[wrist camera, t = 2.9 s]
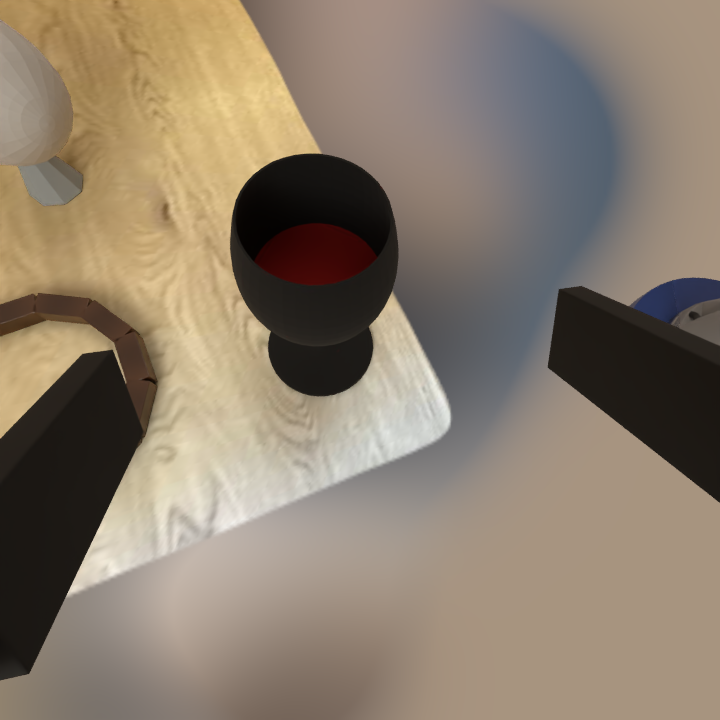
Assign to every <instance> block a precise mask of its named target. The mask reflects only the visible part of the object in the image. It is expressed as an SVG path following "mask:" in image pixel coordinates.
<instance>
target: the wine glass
mask: <svg viewBox="0 0 720 720" xmlns="http://www.w3.org/2000/svg"><path fill="white" fill-rule="evenodd" d="M230 252H231V260H232V267H233V272H234V276H235V279H236V282H237V285H238V288H239V291H240V293H241V295H242V297H243V299H244V301H245V303H246V305H247V306H248V308H249V309H250V311H251V312H252V313H253V314H254V316H255V317H256V318H257V319H258V320H259V321H260V322H261V323H262V324H263V325H264V326H265V327H266V328H267V329H269V330H270V331H271V333H270V337H269V342H268V352H269V358H270V361H271V364H272V366H273V368H274V370H275V372H276V374H277V375H278V376H279V377H280V379H281V380H282V381H283V382H284V383H285V384H286V385H288V386H289V387H291V388H292V389H294V390H296V391H298V392H300V393H303V394H307V395H311V396H329V395H335V394H337V393H340V392H343V391H345V390H347V389H349V388H350V387H352V386H353V385H354V384H356V383H357V382H358V381H359V380H360V379H361V378H362V376H363V375H364V373H365V372H366V370H367V368H368V366H369V364H370V361H371V357H372V352H373V341H372V336H371V332H370V330H369V327H368V326H369V325H370V324H371V323H372V322H373V321H374V320H375V319H376V318H377V317H378V316H379V314H380V313H381V311H382V310H383V308H384V307H385V305H386V303H387V301H388V299H389V297H390V295H391V292H392V289H393V285H394V282H395V278H396V273H397V266H398V240H397V232H396V225H395V220H394V216H393V212H392V208H391V205H390V201H389V199H388V197H387V195H386V193H385V191H384V190H383V188H382V187H381V186H380V184H379V183H378V182H377V181H376V180H375V179H374V178H373V177H372V176H371V175H370V174H369V173H367V172H366V171H365V170H364V169H362V168H361V167H359V166H357V165H355V164H354V163H352V162H349V161H347V160H345V159H342V158H338V157H334V156H330V155H324V154H299V155H293V156H289V157H285V158H281V159H279V160H276V161H273V162H271V163H270V164H268V165H266V166H265V167H263V168H262V169H260V170H259V171H258V172H256V173H255V174H254V175H253V176H252V177H251V178H250V179H249V180H248V181H247V182H246V183H245V185H244V186H243V188H242V189H241V191H240V193H239V195H238V197H237V199H236V202H235V206H234V210H233V215H232V223H231V238H230Z"/></svg>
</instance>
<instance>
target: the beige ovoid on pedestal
mask: <svg viewBox="0 0 720 720" xmlns="http://www.w3.org/2000/svg"><path fill="white" fill-rule="evenodd" d="M72 124H73V108H72V103H71V97H70V95H69V93H68V90H67V88H66V86H65V84H64V82H63V80H62V78H61V76H60V75H59V73H58V72H57V71H56V70H55V68H54V67H53V66H52V65H51V64H50V62H49V61H48V60H47V59H46V58H45V56H44V55H43V54H42V53H41V52H40V51H39V50H38V49H37V48H36V47H35V46H34V45H33V44H32V43H31V42H30V41H29V40H27V39H26V38H25V37H24V36H23V35H21V34H20V33H19V32H17V31H16V30H15V29H13V28H12V27H10V26H9V25H8V24H6V23H5V22H3V21H2V20H1V19H0V164H1V165H13V166H18V168H19V170H20V173H21V175H22V178H23V180H24V183H25V185H26V187H27V190H28V192H29V195H30V196H32V197H33V198H34V199H35V200H37V201H38V202H39V203H41V204H42V205H43V206H48V205H63V204H66V203H68V202H69V201H70V200H72V199H73V198H74V197H75V196H77V195H78V194H79V193H80V192H82V181H83V175H82V174H80V173H79V172H78V171H76V170H75V169H74V168H72V167H71V166H70V165H68V164H67V163H65V162H64V161H62V160H61V159H59V158H58V157H56V156H55V155H57V154H58V153H59V152H60V151H61V149H62V148H63V147H64V145H65V144H66V143H67V141H68V139H69V136H70V133H71V131H72Z"/></svg>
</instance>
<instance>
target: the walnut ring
mask: <svg viewBox="0 0 720 720" xmlns="http://www.w3.org/2000/svg"><path fill="white" fill-rule="evenodd" d="M46 320H50V321H60V322H70V323H80V324H90V325H92V326H93V327H94V328H96V329H97V330H98V331H100V332H101V333H102V334H104V335H105V336H106V337H108V338H109V339H110V340H112V341H113V342H114V344H115V347H116V350H117V353H118V356H119V359H120V362H121V366H122V369H123V372H124V375H125V378H126V381H127V383H126V386H127V389H128V391H129V394H130V396H131V399H132V402H133V404H134V407H135V410H136V412H137V415H138V417H139V420H140V423H141V425H142V428H143V431H144V433H143V436H142V437H145V433H146V429H147V425H148V421H149V417H150V413H151V409H152V405H153V401H154V397H155V393H156V389H157V386H156V385H155V384H153V383H154V382H157V379H156V376H155V373H154V370H153V368H152V365H151V362H150V359H149V356H148V353H147V350H146V347H145V344H144V341H143V338H142V337H140V336H139V335H140V334H139V333H138V332H137V331H135V330H134V329H133V328H132V327H131V326H129V325H128V324H127V323H125V322H124V321H122V320H121V319H120V318H118V317H117V316H116V315H114V314H113V313H111V312H110V311H109V310H107V309H106V308H105V307H103V306H102V305H100V304H99V303H98V302H96V301H95V300H94V301H92V300H91V299H90V298H81V297H71V296H61V295H51V294H42V293H38V295H37V296H35V295H34V294H31V295H28V296H25V297H22V298H19V299H16V300H13V301H10V302H7V303H4V304H1V305H0V336H3V335H6V334H8V333H11V332H14V331H17V330H20V329H23V328H26V327H28V326H31V325H34V324H37V323H40V322H43V321H46ZM141 443H142V441H140V442H139V444H138V446H139V445H140V444H141ZM138 446H137V447H138Z"/></svg>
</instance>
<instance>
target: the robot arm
mask: <svg viewBox="0 0 720 720" xmlns="http://www.w3.org/2000/svg"><path fill="white" fill-rule="evenodd" d="M548 368H549V369H550V370H552V371H553V372H554V373H555V374H557V375H558V376H559V377H561V378H562V379H563V380H564V381H566V382H567V383H568V384H569V385H571V386H572V387H573V388H574V389H576V390H577V391H578V392H580V393H581V394H582V395H584V396H585V397H586V398H587V399H588V400H590V401H591V402H592V403H594V404H595V405H596V406H597V407H599V408H600V409H601V410H603V411H604V412H605V413H606V414H608V415H609V416H610V417H611V418H613V419H614V420H615V421H616V422H618V423H619V424H620V425H622V426H623V427H624V428H625V429H627V430H628V431H629V432H630V433H632V434H633V435H634V436H636V437H637V438H638V439H639V440H641V441H642V442H643V443H644V444H646V445H647V446H648V447H650V448H651V449H652V450H653V451H655V452H656V453H657V454H658V455H660V456H661V457H662V458H664V459H665V460H666V461H667V462H669V463H670V464H671V465H673V466H674V467H675V468H676V469H678V470H679V471H680V472H682V473H683V474H684V475H685V476H686V477H688V478H689V479H690V480H692V481H693V482H694V483H695V484H697V485H698V486H699V487H700V488H702V489H703V490H704V491H706V492H707V493H708V494H709V495H711V496H712V497H713V498H715V499H716V500H717V501H718V502H720V299H715V300H709V301H705V302H701V303H698V304H695V305H693V306H691V307H689V308H687V309H685V310H683V311H682V312H680V313H678V314H676V315H675V316H674V317H672V318H671V319H670V320H669V321H668V322H667V323H666V322H664V321H661V320H659V319H657V318H654V317H652V316H650V315H647V314H645V313H643V312H640V311H638V310H636V309H633V308H631V307H629V306H626V305H624V304H622V303H620V302H617V301H615V300H612V299H610V298H608V297H605V296H603V295H601V294H598V293H596V292H594V291H592V290H589V289H587V288H585V287H582V286H579V287H571V288H564V289H559V293H558V299H557V306H556V313H555V320H554V327H553V334H552V341H551V348H550V355H549V362H548ZM143 433H144V431H143V428H142V425H141V423H140V420H139V417H138V415H137V412H136V410H135V407H134V404H133V402H132V399H131V396H130V394H129V391H128V389H127V386H126V383H125V381H124V378H123V375H122V373H121V370H120V368H119V365H118V362H117V360H116V357H115V354H114V352H113V350H108V351H100V352H93V353H86V354H82V355H81V356H80V357H79V358H78V359H77V360H76V361H75V362H74V363H73V364H72V365H71V367H70V368H69V369H68V370H67V371H66V372H65V373H64V374H63V375H62V376H61V377H60V378H59V379H58V380H57V381H56V382H55V383H54V384H53V385H52V386H51V387H50V388H49V389H48V390H47V391H46V392H45V393H44V394H43V395H42V396H41V397H40V398H39V400H38V401H37V402H36V403H35V404H34V405H33V406H32V407H31V408H30V409H29V410H28V411H27V412H26V413H25V414H24V415H23V416H22V417H21V418H20V419H19V420H18V421H17V422H16V423H15V424H14V425H13V426H12V427H11V428H10V429H9V430H8V431H7V432H6V434H5V435H4V436H3V437H2V438H1V439H0V680H4V679H8V678H13V677H17V676H22V675H26V674H29V673H30V671H31V669H32V667H33V665H34V662H35V660H36V658H37V656H38V654H39V652H40V650H41V648H42V646H43V644H44V641H45V639H46V637H47V635H48V633H49V631H50V629H51V627H52V625H53V623H54V620H55V618H56V616H57V614H58V612H59V610H60V608H61V606H62V604H63V602H64V599H65V597H66V595H67V593H68V591H69V589H70V587H71V585H72V583H73V581H74V578H75V576H76V574H77V572H78V570H79V568H80V566H81V564H82V562H83V560H84V557H85V555H86V553H87V551H88V549H89V547H90V545H91V543H92V541H93V539H94V536H95V534H96V532H97V530H98V528H99V526H100V524H101V522H102V520H103V518H104V515H105V513H106V511H107V509H108V507H109V505H110V503H111V501H112V499H113V497H114V494H115V492H116V490H117V488H118V486H119V484H120V482H121V480H122V478H123V476H124V473H125V471H126V469H127V467H128V465H129V463H130V461H131V459H132V457H133V454H134V452H135V450H136V448H137V446H138V444H139V442H140V440H141V438H142V436H143Z"/></svg>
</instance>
